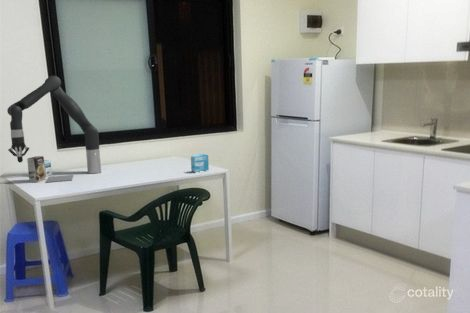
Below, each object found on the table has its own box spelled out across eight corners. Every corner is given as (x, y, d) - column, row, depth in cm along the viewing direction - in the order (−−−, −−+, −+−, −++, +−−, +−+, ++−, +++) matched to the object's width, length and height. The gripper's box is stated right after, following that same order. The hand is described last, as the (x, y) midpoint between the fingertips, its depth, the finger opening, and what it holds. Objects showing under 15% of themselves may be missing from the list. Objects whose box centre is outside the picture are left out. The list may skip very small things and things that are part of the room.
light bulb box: (52, 174, 312) (51, 159, 310) (46, 176, 305) (44, 161, 303) (40, 173, 315) (38, 159, 313) (33, 176, 308) (31, 161, 306)
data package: (194, 173, 307) (193, 156, 305) (191, 172, 311) (190, 155, 309) (208, 170, 314) (208, 154, 312) (205, 169, 318) (205, 153, 316)
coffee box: (37, 182, 288) (35, 158, 285) (29, 182, 289) (26, 158, 286) (46, 179, 296) (43, 156, 293) (37, 179, 298) (35, 155, 295)
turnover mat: (73, 175, 306) (73, 174, 306) (71, 180, 291) (71, 179, 291) (48, 177, 302) (48, 176, 302) (45, 182, 287) (45, 181, 287)
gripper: (29, 135, 290) (32, 160, 293) (7, 136, 286) (10, 162, 289) (27, 136, 283) (30, 162, 286) (5, 137, 279) (8, 164, 282)
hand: (20, 162), depth 288 cm, fingers closed
